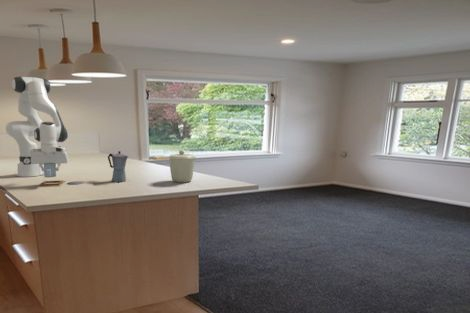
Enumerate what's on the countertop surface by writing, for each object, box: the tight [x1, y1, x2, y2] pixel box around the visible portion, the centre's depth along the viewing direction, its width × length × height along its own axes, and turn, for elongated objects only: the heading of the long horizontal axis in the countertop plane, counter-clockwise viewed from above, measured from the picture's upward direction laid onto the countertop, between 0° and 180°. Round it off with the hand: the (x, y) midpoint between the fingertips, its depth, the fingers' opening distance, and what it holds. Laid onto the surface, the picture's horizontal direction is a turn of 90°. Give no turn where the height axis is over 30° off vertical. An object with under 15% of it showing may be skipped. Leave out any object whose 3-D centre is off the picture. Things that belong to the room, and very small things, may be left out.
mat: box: [66, 180, 85, 186], centre depth 206 cm, size 10×10×1 cm
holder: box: [36, 179, 66, 188], centre depth 203 cm, size 17×13×2 cm
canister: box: [167, 149, 196, 183], centre depth 218 cm, size 18×18×21 cm
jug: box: [43, 164, 57, 178], centre depth 198 cm, size 13×6×8 cm, turn 24°
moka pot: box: [107, 151, 129, 183], centre depth 217 cm, size 10×15×20 cm, turn 78°
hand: (50, 170), depth 202 cm, fingers closed on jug, 6 cm apart
